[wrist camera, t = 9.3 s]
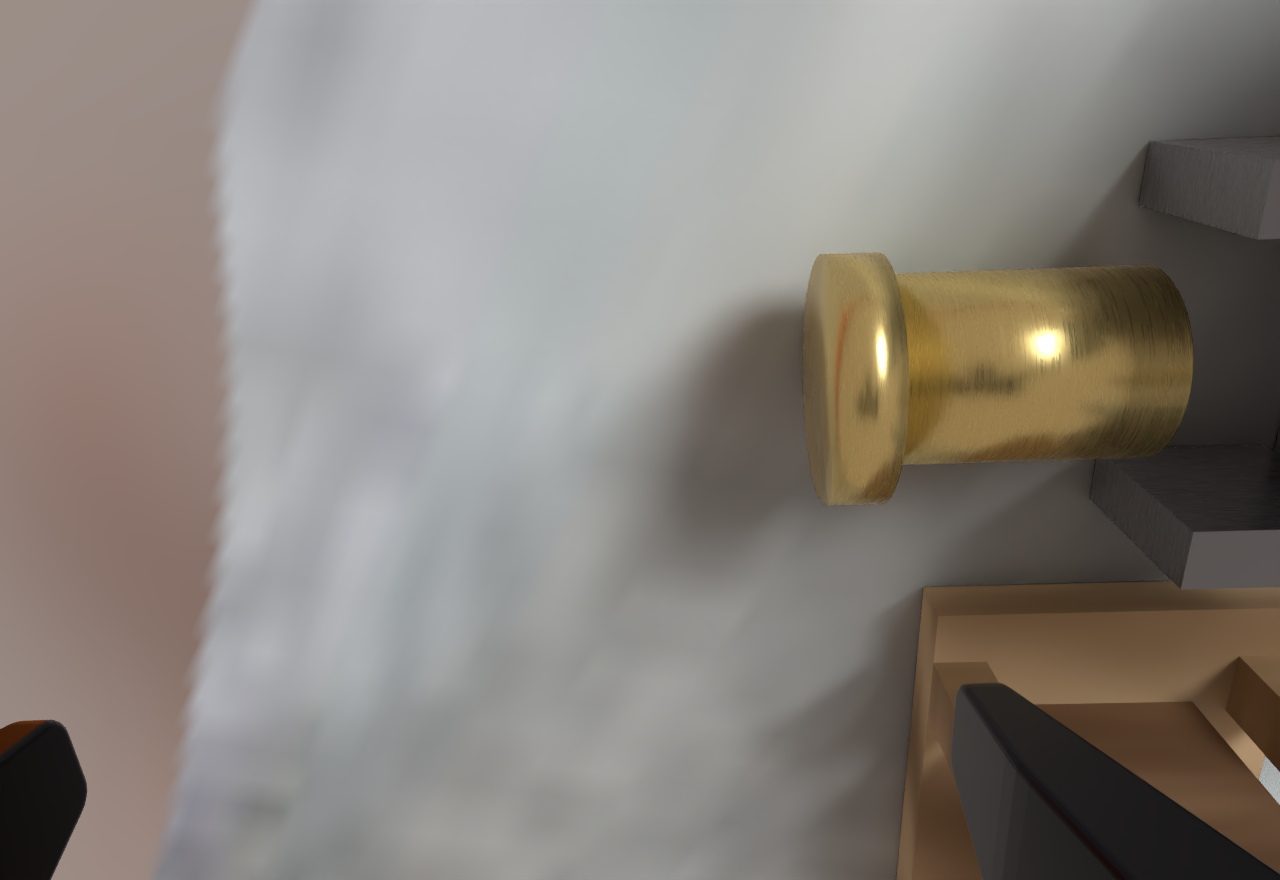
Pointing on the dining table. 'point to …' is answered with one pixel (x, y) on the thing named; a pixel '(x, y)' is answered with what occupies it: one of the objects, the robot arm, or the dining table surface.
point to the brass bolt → (985, 368)
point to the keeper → (1205, 475)
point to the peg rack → (1081, 678)
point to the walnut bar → (1183, 765)
